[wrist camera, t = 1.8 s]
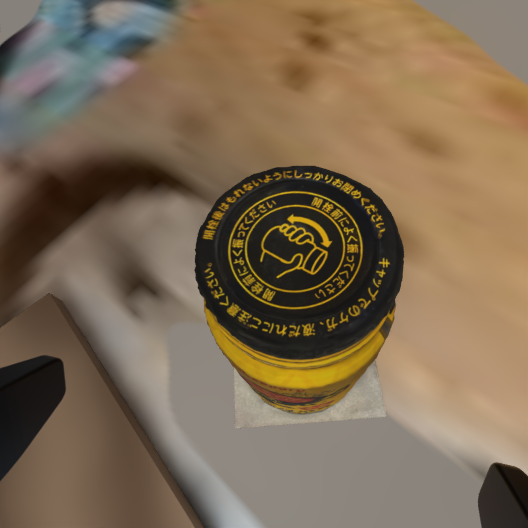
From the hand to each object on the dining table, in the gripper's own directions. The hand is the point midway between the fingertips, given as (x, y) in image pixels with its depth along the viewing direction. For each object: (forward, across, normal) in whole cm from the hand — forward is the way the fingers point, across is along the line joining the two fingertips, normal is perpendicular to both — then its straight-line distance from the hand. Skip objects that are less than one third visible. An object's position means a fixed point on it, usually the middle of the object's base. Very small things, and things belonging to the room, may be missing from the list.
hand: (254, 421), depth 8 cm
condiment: (+12, 0, +5) cm, 13 cm away
